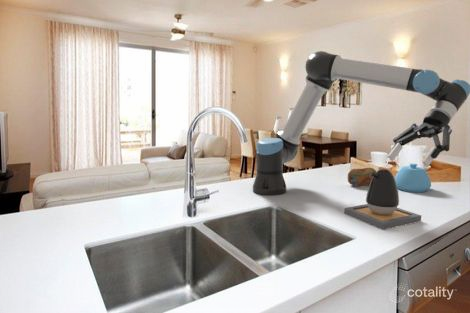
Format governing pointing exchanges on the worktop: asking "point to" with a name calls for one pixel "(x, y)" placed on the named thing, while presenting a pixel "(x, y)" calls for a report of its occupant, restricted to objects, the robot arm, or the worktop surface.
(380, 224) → the dock
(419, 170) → the sugar bowl
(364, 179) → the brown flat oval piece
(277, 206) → the worktop surface
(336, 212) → the worktop surface
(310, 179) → the worktop surface
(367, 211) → the pad
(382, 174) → the dark rounded piece
